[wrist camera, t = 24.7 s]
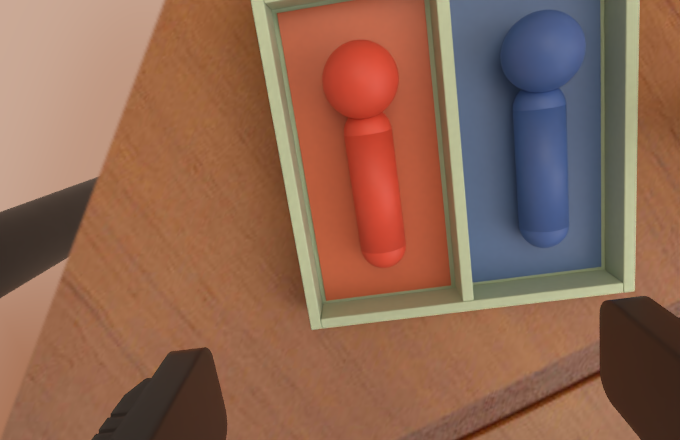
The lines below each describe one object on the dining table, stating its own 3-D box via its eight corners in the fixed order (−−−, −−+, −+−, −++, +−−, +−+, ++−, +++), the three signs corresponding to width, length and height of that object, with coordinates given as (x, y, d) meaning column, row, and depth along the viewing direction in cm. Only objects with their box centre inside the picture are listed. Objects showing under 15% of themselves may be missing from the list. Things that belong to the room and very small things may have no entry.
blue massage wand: (568, 234, 26) (602, 257, 23) (502, 243, 26) (526, 267, 23) (563, 9, 23) (601, -4, 20) (488, 21, 23) (513, 11, 20)
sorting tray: (315, 309, 29) (311, 330, 26) (259, 0, 24) (248, -9, 22) (610, 273, 27) (635, 291, 25) (611, -60, 23) (641, -77, 20)
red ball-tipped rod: (417, 254, 27) (424, 280, 23) (353, 262, 27) (350, 288, 24) (392, 36, 24) (395, 29, 20) (320, 49, 24) (311, 43, 21)
